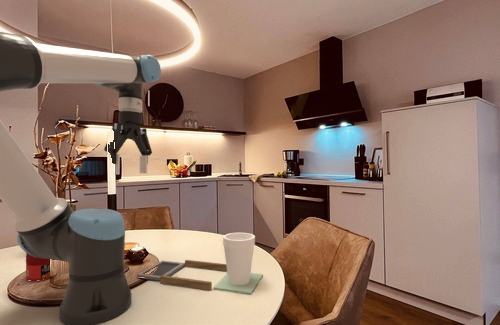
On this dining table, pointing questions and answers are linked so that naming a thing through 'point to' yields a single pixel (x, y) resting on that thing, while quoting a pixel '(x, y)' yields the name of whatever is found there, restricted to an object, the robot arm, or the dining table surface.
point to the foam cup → (239, 256)
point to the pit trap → (162, 270)
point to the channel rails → (191, 282)
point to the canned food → (37, 268)
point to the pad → (244, 289)
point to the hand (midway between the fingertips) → (130, 173)
